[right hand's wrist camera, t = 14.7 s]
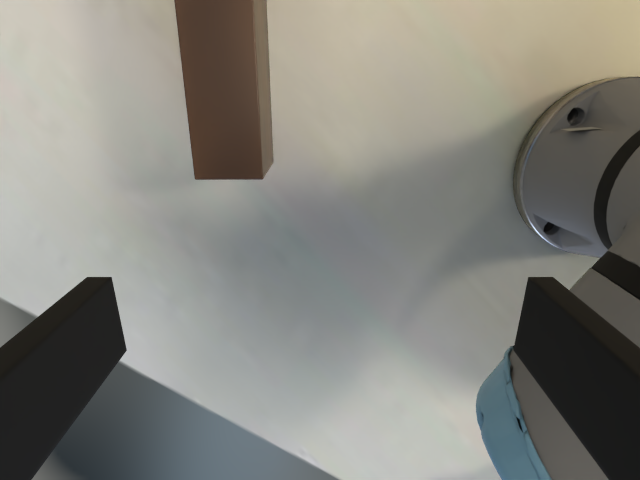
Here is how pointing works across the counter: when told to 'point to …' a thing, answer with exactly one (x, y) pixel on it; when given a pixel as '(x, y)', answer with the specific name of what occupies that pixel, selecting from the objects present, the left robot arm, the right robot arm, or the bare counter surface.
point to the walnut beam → (226, 86)
